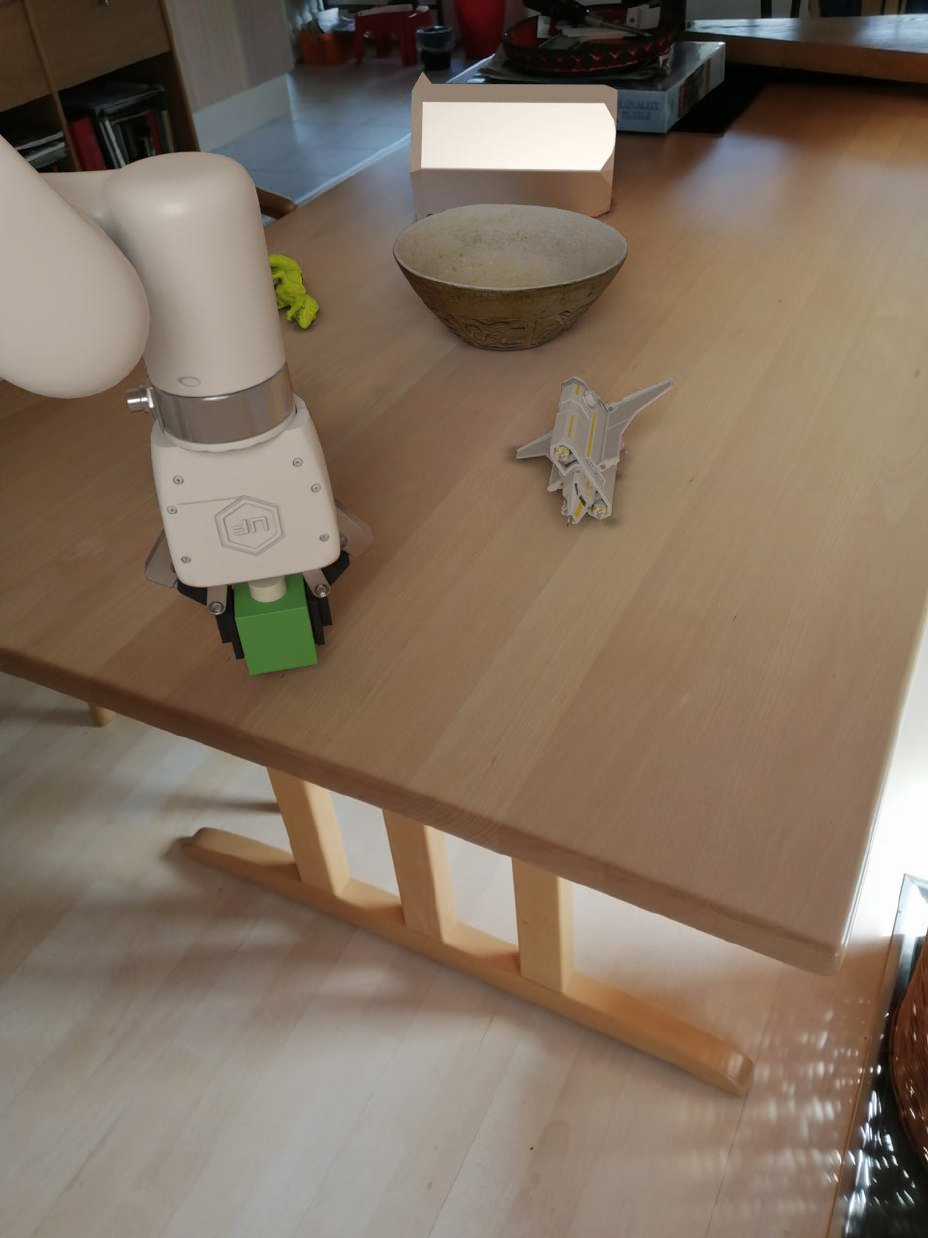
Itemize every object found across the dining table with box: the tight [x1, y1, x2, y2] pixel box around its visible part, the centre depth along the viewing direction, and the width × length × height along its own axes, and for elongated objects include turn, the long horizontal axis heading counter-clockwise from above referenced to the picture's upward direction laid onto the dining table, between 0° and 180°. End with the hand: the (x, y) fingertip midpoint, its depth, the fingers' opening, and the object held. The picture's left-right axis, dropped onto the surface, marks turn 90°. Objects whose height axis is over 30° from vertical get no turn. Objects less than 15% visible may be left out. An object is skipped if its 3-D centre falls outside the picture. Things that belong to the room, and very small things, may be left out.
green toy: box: [232, 573, 319, 676], centre depth 67 cm, size 5×5×6 cm
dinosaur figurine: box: [267, 250, 320, 329], centre depth 115 cm, size 20×10×6 cm, turn 35°
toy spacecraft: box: [515, 375, 675, 528], centre depth 80 cm, size 8×15×15 cm
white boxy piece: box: [409, 71, 619, 221], centre depth 130 cm, size 25×16×19 cm, turn 84°
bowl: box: [392, 204, 629, 351], centre depth 104 cm, size 24×24×10 cm
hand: (279, 636), depth 68 cm, fingers closed on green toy, 4 cm apart
